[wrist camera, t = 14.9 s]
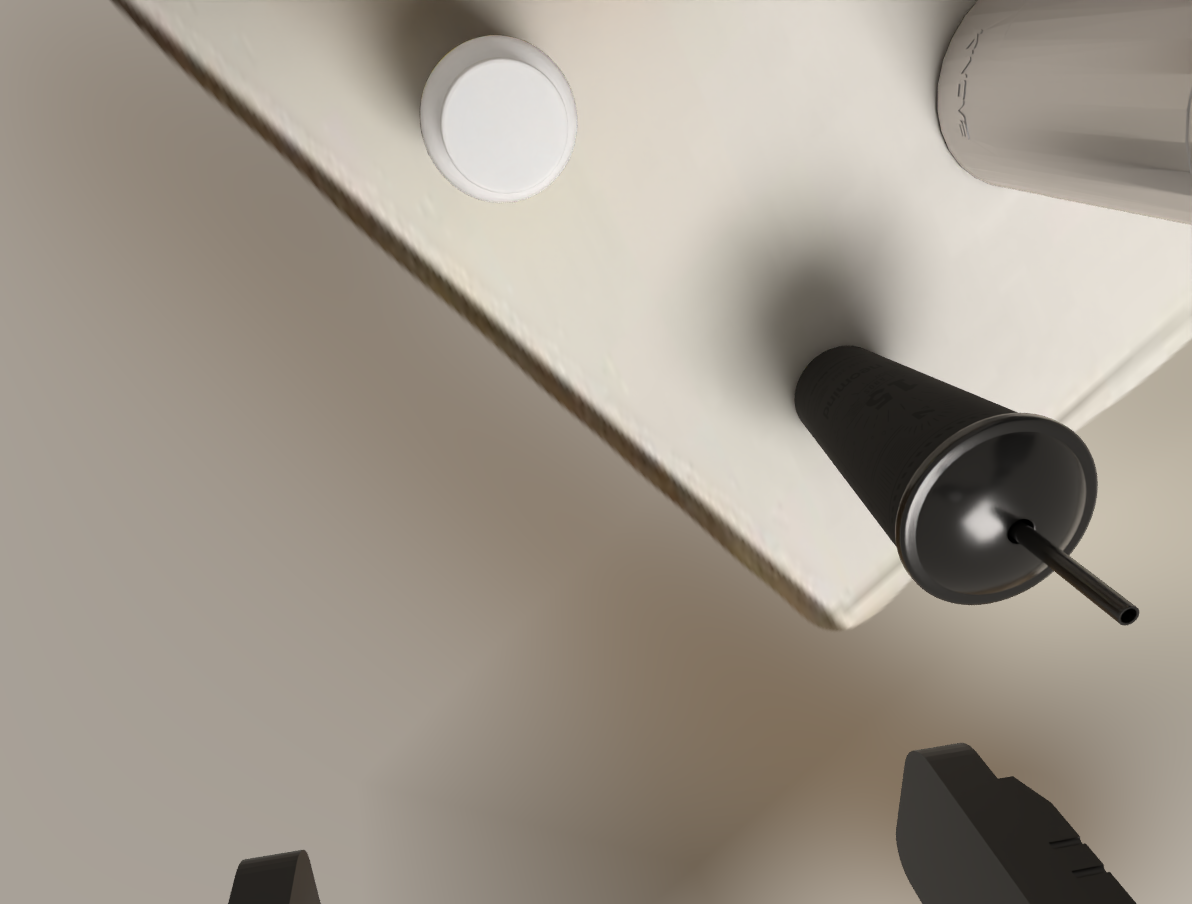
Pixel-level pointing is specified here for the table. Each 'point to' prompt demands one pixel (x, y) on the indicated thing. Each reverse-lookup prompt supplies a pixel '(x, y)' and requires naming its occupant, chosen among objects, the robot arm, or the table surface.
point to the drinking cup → (957, 479)
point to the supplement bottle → (498, 119)
